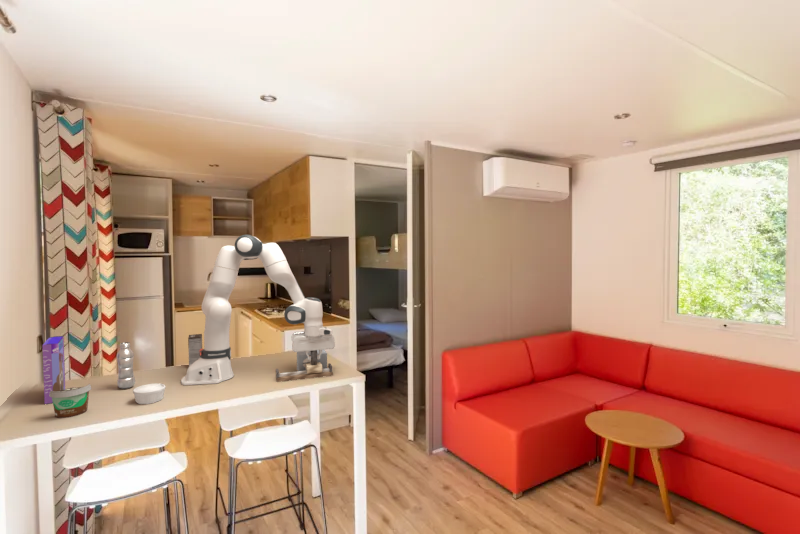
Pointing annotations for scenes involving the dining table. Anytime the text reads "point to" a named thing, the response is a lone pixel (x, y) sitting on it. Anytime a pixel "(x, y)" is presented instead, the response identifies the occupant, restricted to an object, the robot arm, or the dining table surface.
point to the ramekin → (149, 393)
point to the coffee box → (194, 347)
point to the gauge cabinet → (303, 360)
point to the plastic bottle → (125, 366)
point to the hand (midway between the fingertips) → (313, 359)
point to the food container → (70, 401)
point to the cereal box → (53, 366)
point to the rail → (302, 374)
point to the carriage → (314, 364)
